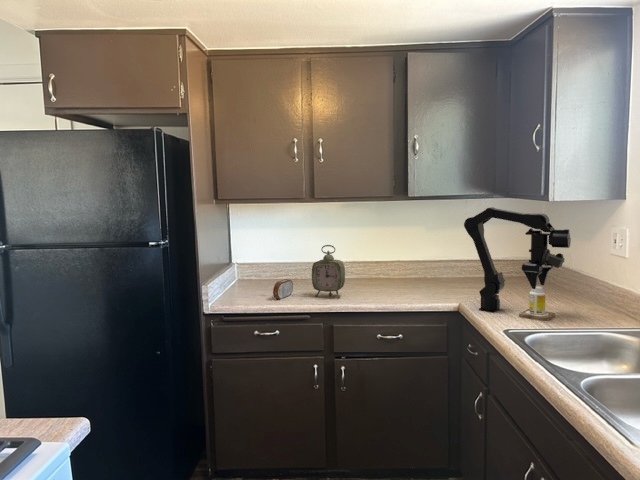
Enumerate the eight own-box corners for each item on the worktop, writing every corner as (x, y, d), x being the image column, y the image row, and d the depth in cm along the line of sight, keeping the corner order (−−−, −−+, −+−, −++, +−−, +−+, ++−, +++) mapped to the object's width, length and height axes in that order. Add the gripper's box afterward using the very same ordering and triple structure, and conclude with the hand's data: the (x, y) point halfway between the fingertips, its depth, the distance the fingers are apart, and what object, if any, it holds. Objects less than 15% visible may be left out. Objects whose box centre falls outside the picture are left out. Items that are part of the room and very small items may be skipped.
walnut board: (518, 316, 175) (518, 313, 175) (528, 311, 182) (528, 308, 182) (546, 321, 168) (546, 318, 168) (555, 316, 175) (555, 312, 175)
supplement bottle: (546, 312, 175) (547, 286, 174) (542, 315, 171) (542, 289, 170) (531, 310, 179) (532, 285, 178) (526, 313, 175) (527, 287, 174)
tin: (288, 294, 224) (288, 277, 224) (294, 294, 223) (293, 277, 222) (272, 300, 211) (272, 282, 210) (278, 301, 210) (277, 283, 209)
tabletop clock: (312, 298, 214) (310, 245, 212) (318, 293, 223) (317, 243, 221) (341, 299, 210) (340, 246, 208) (346, 295, 219) (345, 244, 216)
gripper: (553, 250, 160) (552, 293, 161) (569, 245, 173) (568, 285, 175) (521, 248, 168) (520, 289, 169) (539, 244, 181) (538, 282, 183)
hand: (538, 287), depth 174 cm, fingers open, 9 cm apart
